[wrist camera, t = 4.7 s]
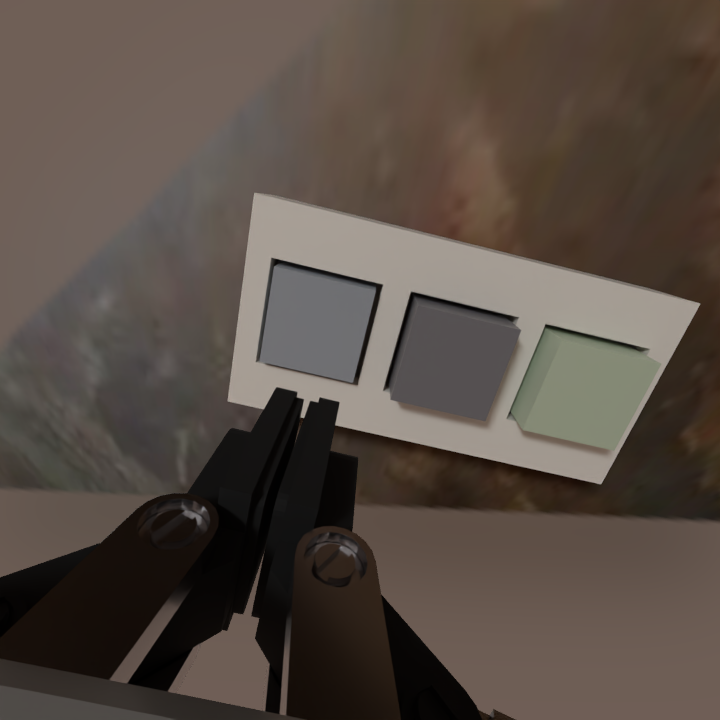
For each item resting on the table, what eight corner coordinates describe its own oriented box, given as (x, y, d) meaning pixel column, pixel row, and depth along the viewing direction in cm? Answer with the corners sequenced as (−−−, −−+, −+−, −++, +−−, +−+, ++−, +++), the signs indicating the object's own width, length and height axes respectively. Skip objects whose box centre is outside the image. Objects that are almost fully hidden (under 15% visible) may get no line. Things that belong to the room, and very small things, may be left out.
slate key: (375, 280, 22) (375, 290, 19) (355, 362, 24) (352, 382, 21) (286, 258, 22) (274, 266, 19) (273, 343, 24) (259, 361, 21)
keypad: (648, 288, 23) (700, 303, 20) (570, 446, 27) (601, 484, 24) (274, 195, 22) (254, 192, 19) (248, 373, 26) (227, 401, 22)
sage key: (625, 343, 22) (661, 363, 19) (586, 421, 24) (614, 450, 21) (537, 322, 22) (561, 340, 19) (505, 403, 24) (522, 429, 21)
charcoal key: (502, 314, 22) (521, 330, 19) (472, 395, 23) (485, 421, 21) (412, 292, 21) (418, 305, 19) (388, 376, 23) (390, 399, 20)
